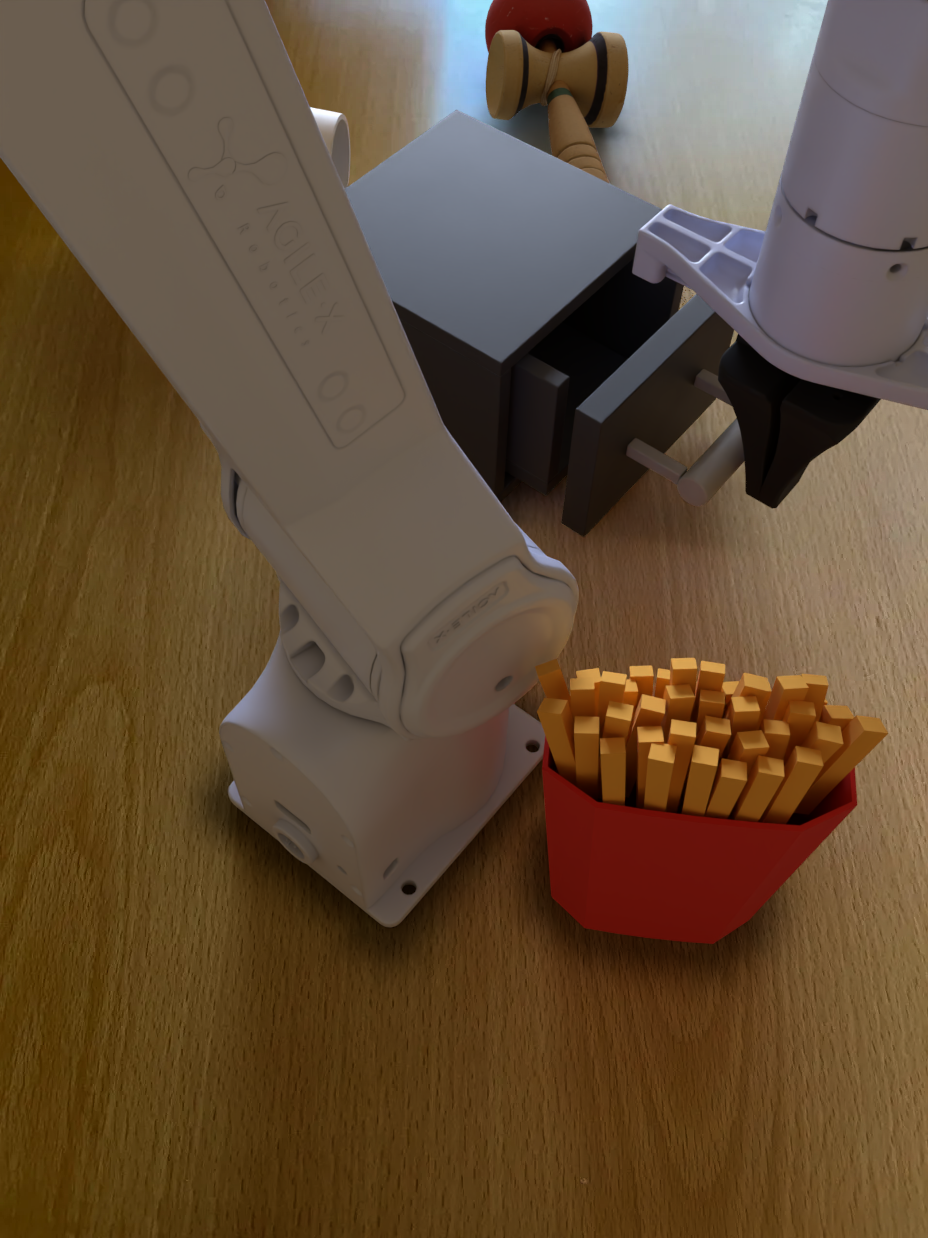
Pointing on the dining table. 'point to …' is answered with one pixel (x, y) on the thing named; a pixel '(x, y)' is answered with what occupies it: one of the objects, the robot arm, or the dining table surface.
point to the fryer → (488, 263)
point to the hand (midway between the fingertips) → (772, 486)
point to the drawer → (620, 399)
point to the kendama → (556, 73)
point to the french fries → (689, 792)
